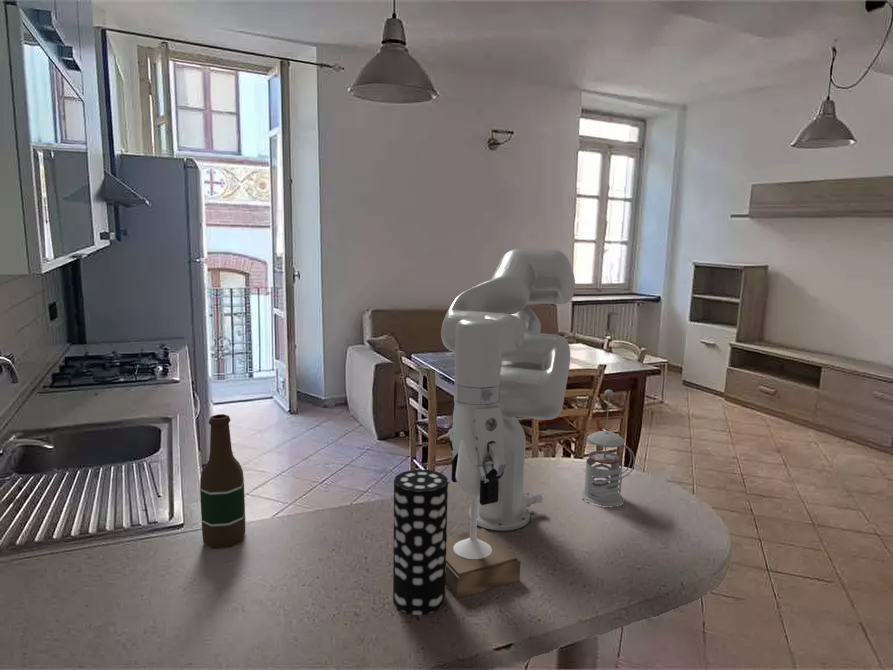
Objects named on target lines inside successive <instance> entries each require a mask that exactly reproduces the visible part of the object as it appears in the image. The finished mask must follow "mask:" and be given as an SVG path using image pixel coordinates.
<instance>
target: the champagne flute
mask: <svg viewBox="0 0 893 670" xmlns="http://www.w3.org/2000/svg"><path fill="white" fill-rule="evenodd" d="M487 461H490V459H485V460H483V462H487ZM486 470H487V473H489V472H490V471H491V470H492V468H491V466H489V467H486ZM456 480H457V482H456V483H457V484H458V485H459V487H460V489H462V491H464V492H465V494H467V495H468V496H470V506H471V515H470V518H469V532H470V538H467V539H465V540H462V541H459V542H457V543H456V544H455V545H454V547H453V549H454V552H455V553H456V554H457V555H459V556H461V557H463V558H467V559H482V558H485V557H487V556H489V555H490V554H491V552H492V548H491V546H490V545H489V544H487V543H486V542H484V541H481V540H479V539H477V538H476V536H477V530H478V529H477V528H478V525H477V510H478V496H480V481H482V480H483V479H482V476H481V472H480V469H479V467H477V466H475V465H474V464H472V463H471V462H470V460H469V456H468V453H467V449H466V446H465V443H464V441H463V439H462V440H461V442H460V446H459V453H458V461H457V469H456Z"/></svg>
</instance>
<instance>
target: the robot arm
mask: <svg viewBox="0 0 893 670" xmlns="http://www.w3.org/2000/svg"><path fill="white" fill-rule="evenodd" d="M574 274H575V273H574V271H573V268H572V265H571V261H570V260H569V258H568V257H567V255H566V254H565V253H563V252H562V251H561V250H558V249H551V248H549V249H548V248H547V249H546V248H514V249H511V250H509V251H507V252H506V253H505V254H504V255H503V256H502V257H501V259H500V260H499V262H498V265H497V266H496V269H495V270H494V272H493V273H492V276H491V278H490V280H487V281H484V282H481V283H480V284H477V285H475V286H473V287H471V288H469V289H467V290H464V291H463V292H461V293H460V294H459V295H457V296H456V298H455V299H453V301H452V302H451V304H450V306H449V308H448V310H447V311H446V313H445V316H444V319H443V321H442V325H441V329H440V336H441V342H442V344H443V345H444V347H445V348H446V349H447V350H448V351H450V352H453V353H454V384H453V388H454V390H453V403H454V407H453V413H452V423H451V428H449V429H448V436H449V437H448V438H449V447H450V449H451V452H450V457H451V459H452V460H451V481H452V482H453V483H458V482H457V480H456V469H457V461H458V453H459V446H460V442H461V440H462V439H463V441H464V443H465V446H466V449H467V453H468V456H469V460H470V462H471V463H472V464H474V465H475V466H477V467H479V469H480V472H481V476H482V479H483V480H482V481H480V496H478V510H477V526H479V527H481V528H482V529H483V528H484V529H485V530H486V529H487V530H492V531H498V532H499V531H502V532H504V531H515V530H518V529H521V528H522V527H524V526H526V525H527V524H528V523H529V522H530V518H531V515H530V514H531V513H530V511H529V509H528V508H530V506H531V505H536V504H537V505H538V504H540V503H542V502H543V496H542V495H541V494H542V493H541V494H540V493H535V494H531V493H530V491H524V487H525V486H524V484H525V483H524V482H525V481H524V480H525V479H524V478H525V464H526V463H525V462H526V461H525V459H526V443H527V442H526V441H527V440H526V435H525V434H526V433H525V431H524V429H523V426H522V425H521V423H520V421H519V420H518V419H517V418H524V419H525V418H527V419H534V420H546V421H547V420H550V421H551V420H554V419H556V418H557V417H559V415H560V414H561V412H562V409H563V406H564V401H565V395H566V390H567V384H568V377H569V371H570V365H571V348H570V344H569V342H568V340H567V339H566V338H565V337H564V336H562V335H559V334H553V333H543V332H542V333H541V330H542V325H541V324H542V323H541V321H540V319H539V317H538V316H537V315H536V313H535V312H534V311H533V310H532V309H531V308H530V307H529V306H528V304H529V303H530V304H547V305H565V304H568V303H569V302H570V301H571V300H572V298H573V297H574V293H575V289H576V278H575V275H574ZM485 459H490V461H487V462H483V460H485ZM489 466H491V468H492V470H491V471H490V472H489V473H487V470H486V467H489ZM470 515H471V505H470V506H469V508H468V518H469V519H470Z"/></svg>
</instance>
